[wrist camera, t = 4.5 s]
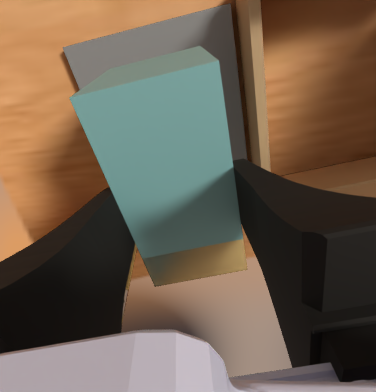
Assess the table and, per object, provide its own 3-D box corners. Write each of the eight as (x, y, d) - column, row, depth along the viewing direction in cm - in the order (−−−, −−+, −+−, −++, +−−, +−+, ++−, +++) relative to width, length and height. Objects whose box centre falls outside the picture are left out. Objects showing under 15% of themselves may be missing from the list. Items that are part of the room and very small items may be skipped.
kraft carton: (463, -72, 14) (632, -137, 9) (408, 156, 21) (486, 195, 15) (234, -11, 15) (264, -36, 10) (254, 187, 22) (278, 234, 16)
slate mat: (228, 4, 15) (230, 3, 15) (248, 182, 21) (250, 186, 21) (66, 47, 16) (62, 47, 15) (130, 207, 22) (129, 211, 22)
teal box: (200, 45, 12) (218, 60, 7) (225, 198, 17) (247, 269, 12) (109, 68, 13) (69, 97, 8) (159, 212, 18) (155, 286, 13)
